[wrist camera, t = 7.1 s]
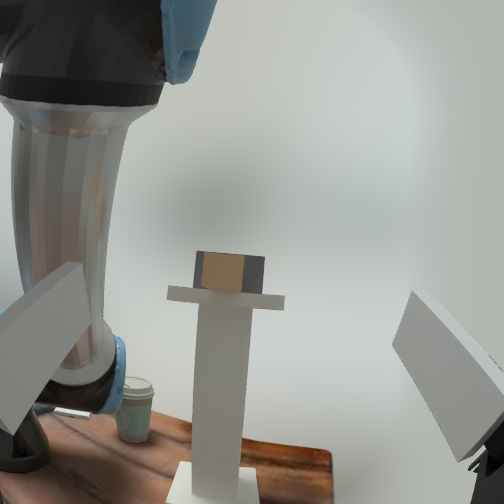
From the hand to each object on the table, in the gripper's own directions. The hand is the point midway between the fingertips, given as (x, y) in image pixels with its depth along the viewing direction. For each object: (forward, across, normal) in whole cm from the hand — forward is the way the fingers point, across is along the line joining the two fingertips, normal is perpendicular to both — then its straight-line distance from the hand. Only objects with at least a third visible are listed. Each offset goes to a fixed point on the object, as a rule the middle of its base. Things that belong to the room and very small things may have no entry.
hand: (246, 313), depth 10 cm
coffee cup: (+19, -18, -44) cm, 52 cm away
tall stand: (+7, -2, -37) cm, 38 cm away
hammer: (+18, -2, -9) cm, 20 cm away
